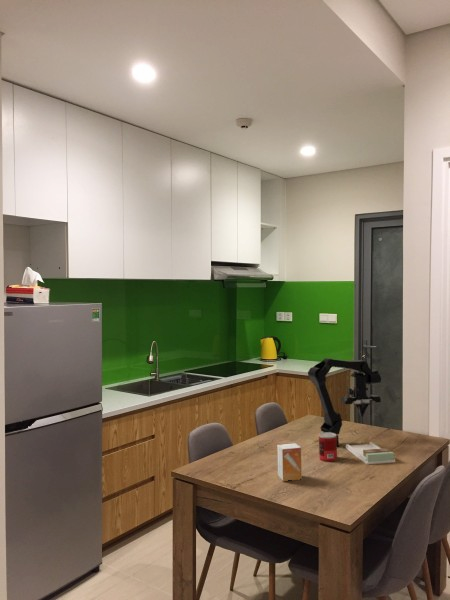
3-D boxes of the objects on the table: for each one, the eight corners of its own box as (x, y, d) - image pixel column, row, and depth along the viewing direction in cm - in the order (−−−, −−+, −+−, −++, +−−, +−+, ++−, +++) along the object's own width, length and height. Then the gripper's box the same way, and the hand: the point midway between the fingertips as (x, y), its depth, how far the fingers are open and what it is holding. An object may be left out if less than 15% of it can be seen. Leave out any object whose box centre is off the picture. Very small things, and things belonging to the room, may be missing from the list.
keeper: (367, 459, 219) (366, 452, 219) (363, 456, 223) (363, 449, 223) (389, 457, 221) (389, 450, 221) (385, 454, 225) (385, 448, 225)
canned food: (340, 458, 225) (339, 433, 225) (331, 463, 220) (330, 438, 220) (325, 455, 231) (324, 431, 231) (316, 459, 225) (315, 435, 225)
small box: (282, 482, 199) (282, 449, 199) (277, 476, 205) (276, 444, 205) (302, 479, 201) (301, 447, 201) (296, 474, 207) (295, 442, 207)
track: (366, 464, 217) (366, 455, 217) (345, 448, 240) (345, 439, 240) (395, 462, 219) (395, 452, 219) (371, 446, 242) (371, 437, 242)
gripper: (371, 381, 261) (372, 411, 261) (336, 383, 258) (337, 414, 258) (381, 385, 250) (382, 416, 250) (345, 387, 247) (346, 419, 247)
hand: (361, 416), depth 252 cm, fingers closed
